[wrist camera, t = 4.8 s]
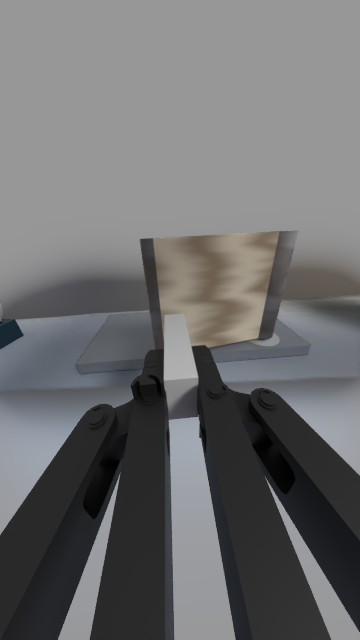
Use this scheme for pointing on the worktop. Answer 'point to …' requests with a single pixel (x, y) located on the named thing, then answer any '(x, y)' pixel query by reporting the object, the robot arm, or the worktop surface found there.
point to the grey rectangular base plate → (137, 339)
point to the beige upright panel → (217, 284)
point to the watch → (8, 330)
